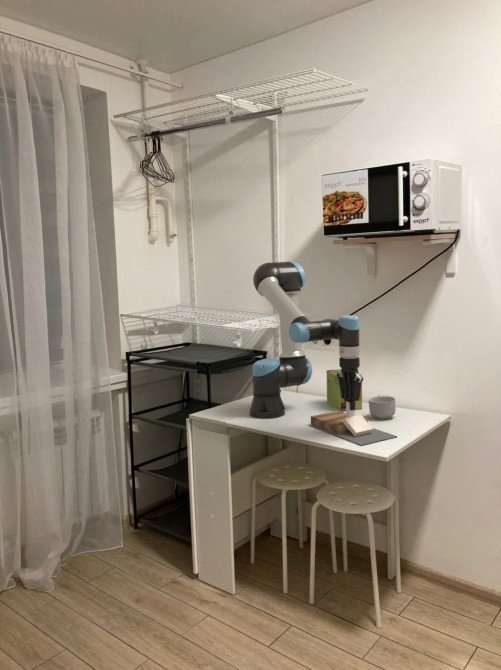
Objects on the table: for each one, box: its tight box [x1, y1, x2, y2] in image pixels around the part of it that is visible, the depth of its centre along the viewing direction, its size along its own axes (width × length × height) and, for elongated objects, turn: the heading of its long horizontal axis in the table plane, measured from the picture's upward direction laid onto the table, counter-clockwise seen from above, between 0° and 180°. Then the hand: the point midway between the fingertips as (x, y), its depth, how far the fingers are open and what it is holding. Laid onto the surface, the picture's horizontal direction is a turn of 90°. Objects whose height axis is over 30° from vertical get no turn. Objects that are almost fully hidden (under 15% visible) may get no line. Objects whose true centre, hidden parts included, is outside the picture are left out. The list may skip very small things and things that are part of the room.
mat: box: [310, 424, 398, 447], centre depth 220 cm, size 30×17×1 cm, turn 30°
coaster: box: [343, 414, 374, 437], centre depth 216 cm, size 8×8×2 cm
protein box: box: [326, 368, 363, 412], centre depth 256 cm, size 10×15×16 cm
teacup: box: [367, 394, 396, 420], centre depth 239 cm, size 14×11×8 cm
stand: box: [310, 410, 369, 434], centre depth 226 cm, size 18×14×3 cm
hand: (350, 418), depth 220 cm, fingers closed
